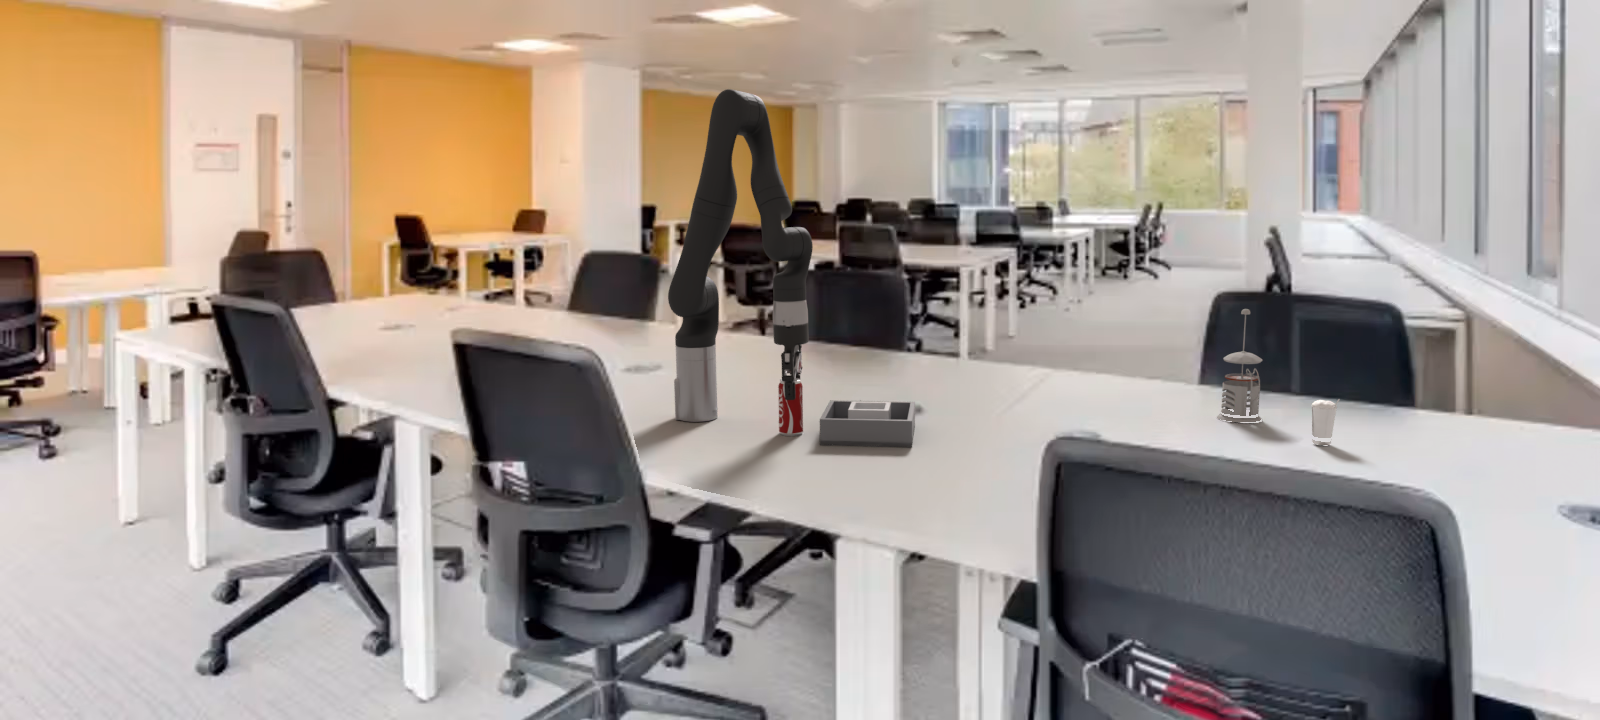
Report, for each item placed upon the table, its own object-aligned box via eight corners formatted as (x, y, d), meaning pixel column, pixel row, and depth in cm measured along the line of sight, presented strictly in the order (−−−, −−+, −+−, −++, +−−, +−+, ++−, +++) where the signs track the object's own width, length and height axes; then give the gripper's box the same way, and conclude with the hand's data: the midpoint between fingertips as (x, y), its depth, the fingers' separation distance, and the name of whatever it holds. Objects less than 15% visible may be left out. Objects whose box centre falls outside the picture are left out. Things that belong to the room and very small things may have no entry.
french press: (1250, 413, 237) (1257, 305, 233) (1275, 425, 225) (1282, 312, 221) (1208, 414, 236) (1214, 306, 232) (1231, 426, 225) (1237, 312, 221)
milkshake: (1327, 449, 205) (1331, 400, 203) (1303, 443, 209) (1307, 395, 208) (1342, 446, 207) (1346, 397, 205) (1318, 440, 211) (1322, 393, 210)
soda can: (800, 436, 220) (799, 381, 218) (776, 435, 222) (775, 381, 220) (805, 431, 226) (804, 377, 224) (782, 430, 227) (781, 376, 225)
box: (819, 445, 213) (819, 416, 212) (830, 424, 232) (830, 398, 231) (911, 447, 210) (912, 418, 209) (915, 425, 229) (915, 399, 228)
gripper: (778, 317, 227) (780, 389, 230) (767, 326, 213) (770, 402, 216) (811, 317, 226) (814, 389, 229) (803, 325, 212) (806, 402, 215)
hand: (793, 395), depth 222 cm, fingers open, 8 cm apart
